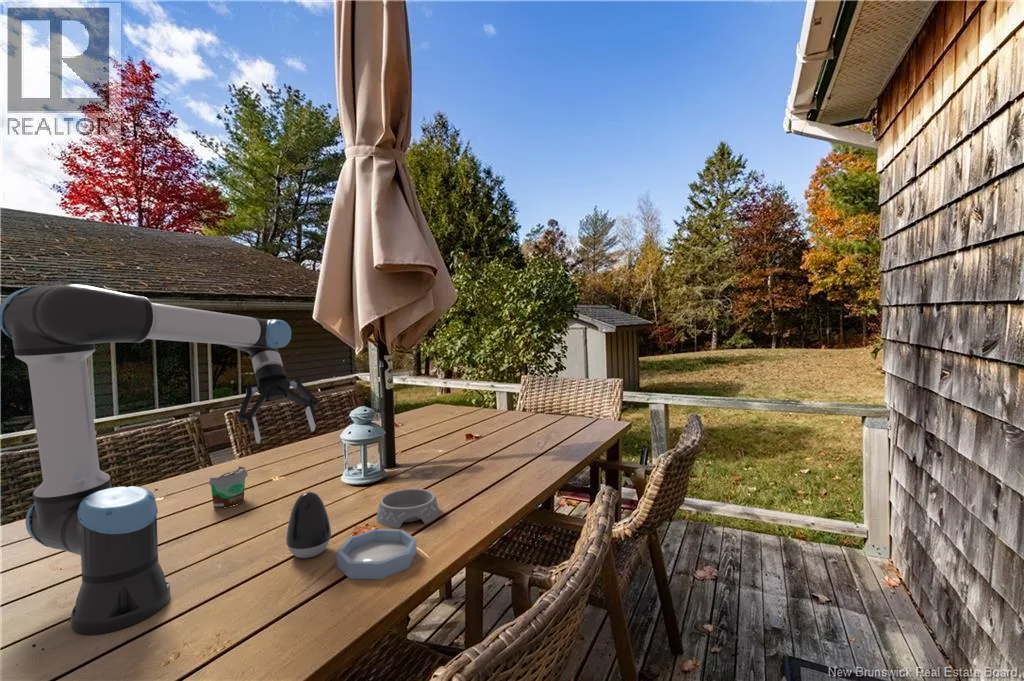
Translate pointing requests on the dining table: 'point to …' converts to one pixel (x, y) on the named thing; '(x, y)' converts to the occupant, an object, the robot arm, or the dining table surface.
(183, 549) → the dining table surface
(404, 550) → the bowl
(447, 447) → the dining table surface
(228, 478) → the food container
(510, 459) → the dining table surface
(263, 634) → the dining table surface
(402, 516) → the dog bowl
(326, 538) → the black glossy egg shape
